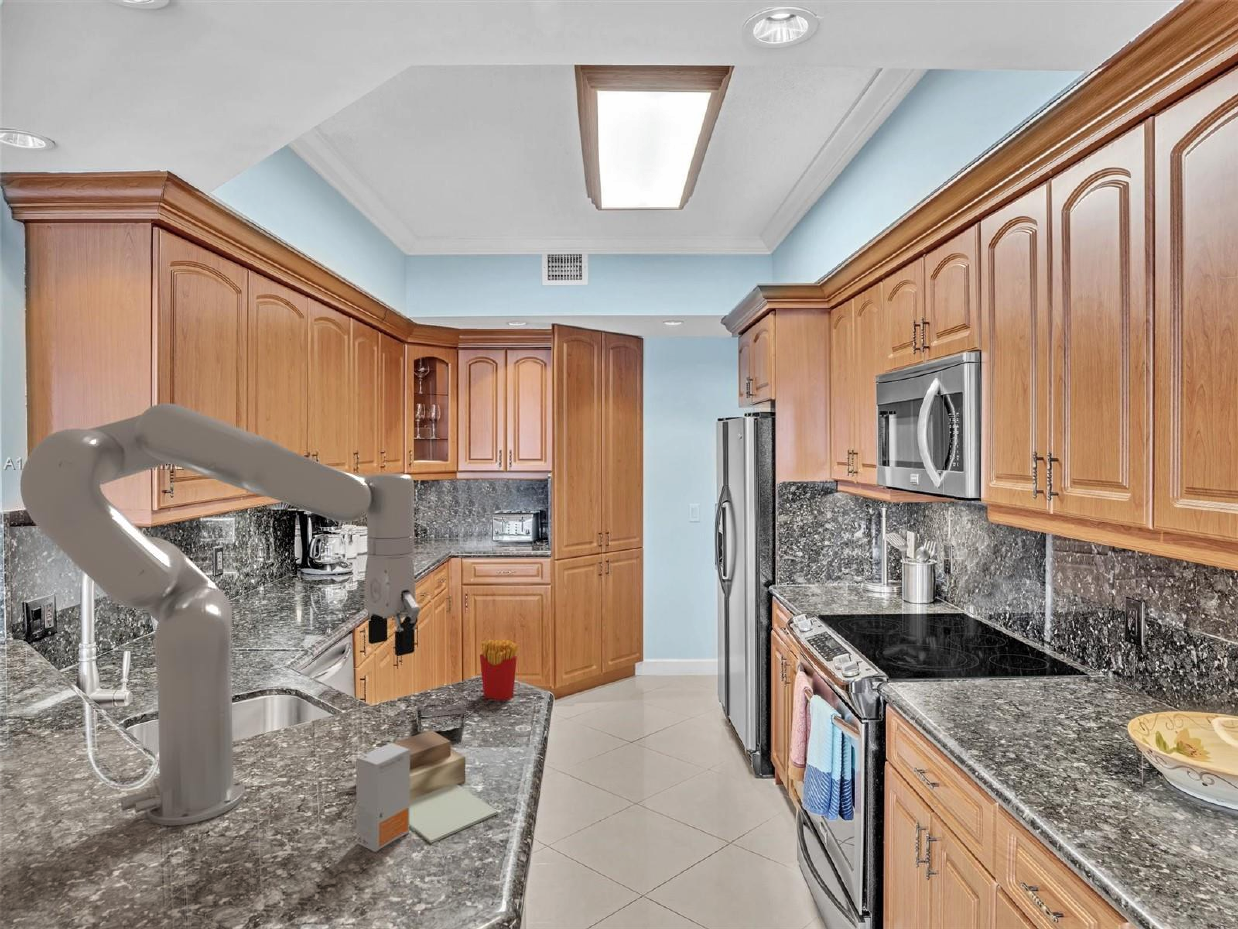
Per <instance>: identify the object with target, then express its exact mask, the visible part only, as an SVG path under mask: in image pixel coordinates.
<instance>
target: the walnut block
mask: <svg viewBox="0 0 1238 929" xmlns="http://www.w3.org/2000/svg"><path fill="white" fill-rule="evenodd" d="M434 731H435V730H434ZM434 731H433V730H429V731H424V732H425V733H422V734H421V733H419V734H416V735H413V736H410V737H406V738H403V739H400V740H398V741H394V742H392V743H393V744H396V745H398V746H401V747H404V748H407V749H410V770H412V769H415V768H418V767H420V766H423V765H426V764H429V763H432V762H434V761H437V760H440V759H443V758H446V757H449V756H451V749H452V747H451V745H452V743H451V741H452V740H448V739H446V738H444V737H442V736H441V735H439V734H437V733H436V732H434ZM385 745H386V744H385ZM385 745H381V746H380V747H383V746H385Z"/></svg>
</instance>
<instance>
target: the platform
mask: <svg viewBox="0 0 1238 929" xmlns="http://www.w3.org/2000/svg"><path fill="white" fill-rule="evenodd" d="M464 782H466V756H465V755H463V754H462V753H459V752H458V751H456V750H455V749H453V748H451V756H449V757H446V758H443V759H440V760H437V761H434V762H432V763H429V764H426V765H423V766H420V767H418V768H415V769H412V770H410V800H412V799H414V798H417V797H420V796H422V795H425V794H427V793H430V792H432V791H435V790H438V789H440V788H443V787H445V786H448V785H451V784H453V783H456V784H457V785H459V784H462V783H464Z"/></svg>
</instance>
